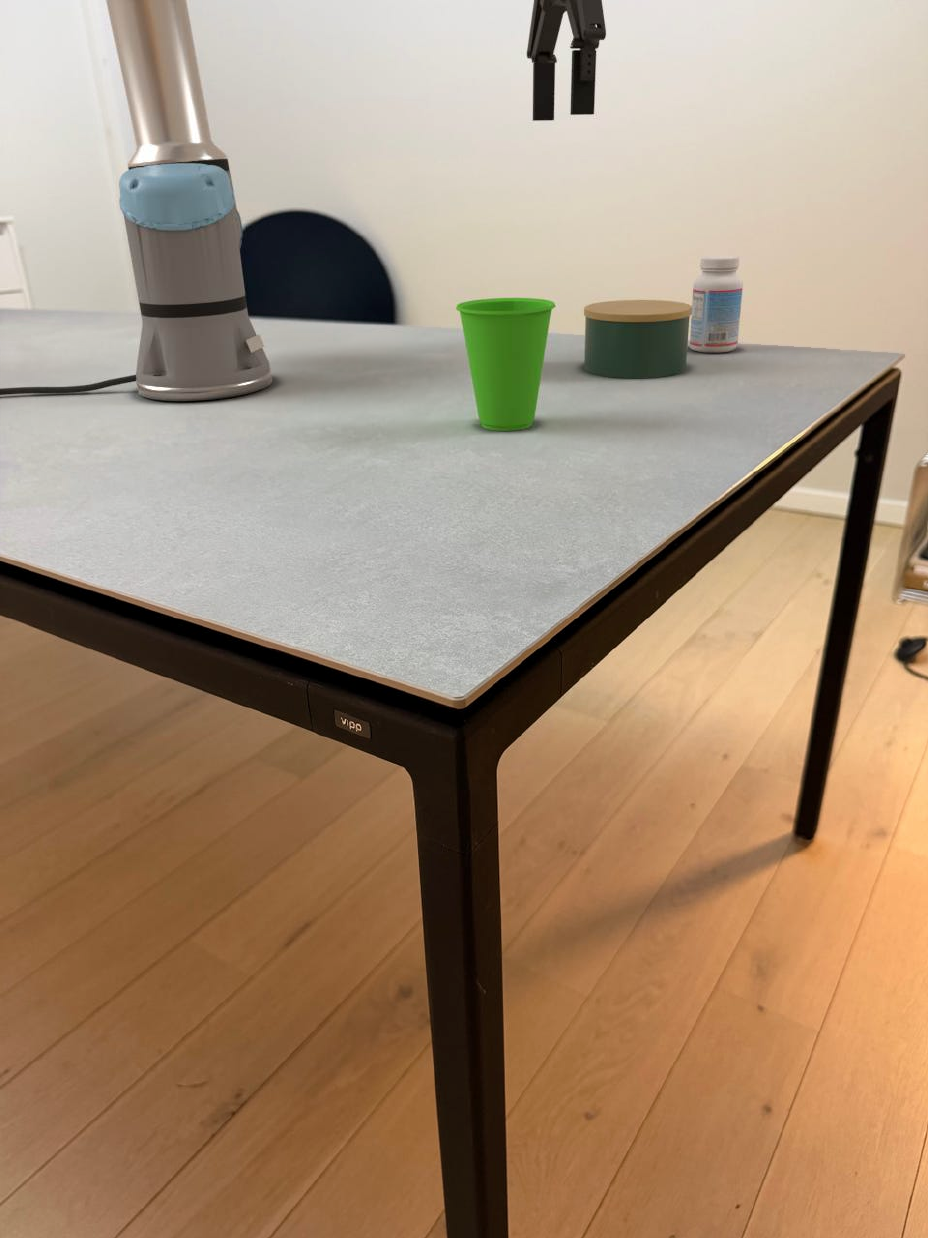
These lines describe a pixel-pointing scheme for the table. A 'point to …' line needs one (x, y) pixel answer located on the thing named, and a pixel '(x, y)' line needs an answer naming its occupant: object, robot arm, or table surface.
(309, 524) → the table surface
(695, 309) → the pill bottle
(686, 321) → the tin
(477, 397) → the cup
